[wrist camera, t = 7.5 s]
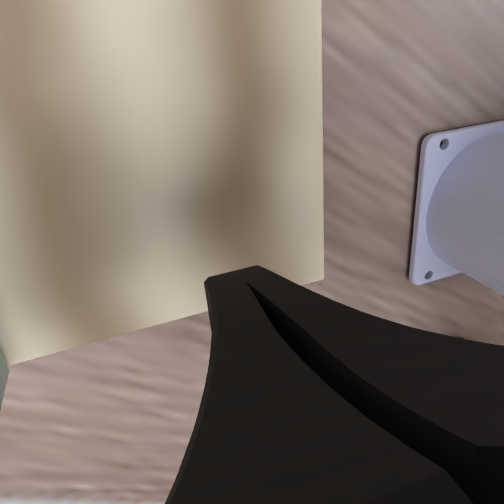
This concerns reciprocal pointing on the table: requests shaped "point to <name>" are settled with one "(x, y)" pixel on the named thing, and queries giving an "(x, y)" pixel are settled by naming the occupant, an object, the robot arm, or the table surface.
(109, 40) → the stool seat
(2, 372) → the stool leg
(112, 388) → the table surface
